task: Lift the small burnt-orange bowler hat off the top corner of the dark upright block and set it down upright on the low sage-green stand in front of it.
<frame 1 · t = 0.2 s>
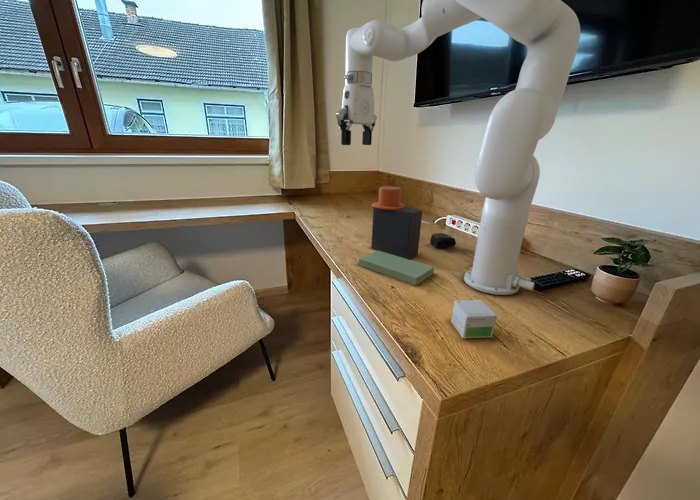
hand: (356, 144, 94), 31 cm above the worktop, tool pointing down, fingers open, 9 cm apart
small box: (470, 330, 58), on the worktop
tape measure: (442, 247, 102), on the worktop
dark upright block: (393, 251, 97), on the worktop
hat: (388, 206, 94), point 14 cm above the worktop, touching dark upright block
stand: (394, 269, 84), on the worktop
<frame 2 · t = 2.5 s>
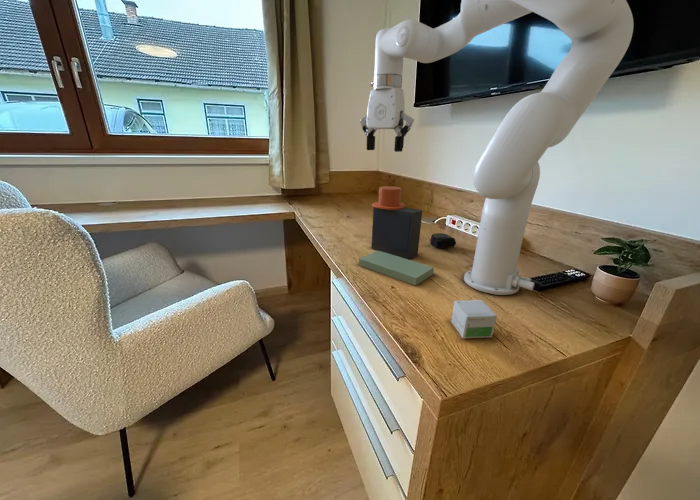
hand: (384, 150, 89), 30 cm above the worktop, tool pointing down, fingers open, 9 cm apart
nothing on the worktop moved.
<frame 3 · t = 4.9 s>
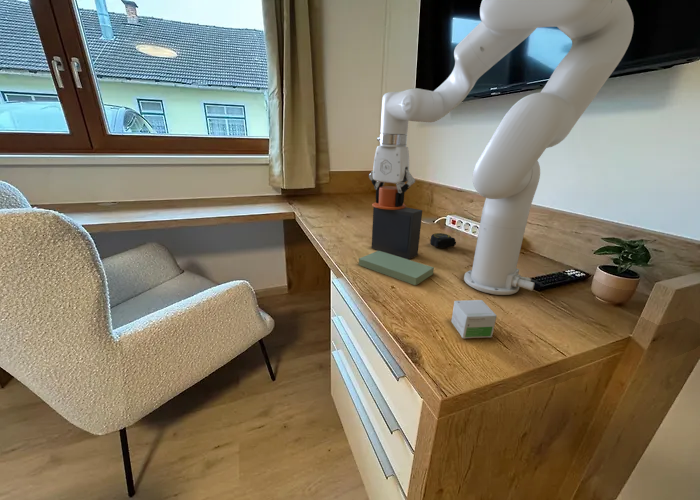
hand: (389, 203, 93), 15 cm above the worktop, tool pointing down, fingers closed on hat, 6 cm apart
hat: (388, 206, 94), point 14 cm above the worktop, touching gripper, dark upright block
everything else where it was.
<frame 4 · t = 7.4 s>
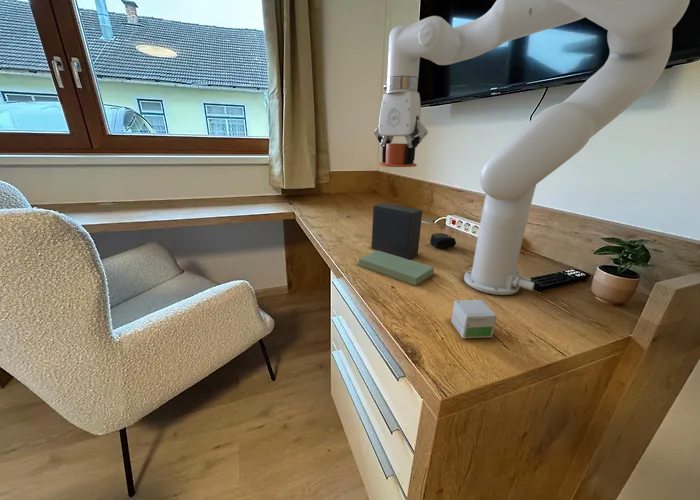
hand: (397, 162, 82), 27 cm above the worktop, tool pointing down, fingers closed on hat, 6 cm apart
hat: (397, 165, 82), point 27 cm above the worktop, touching gripper
everything else where it was.
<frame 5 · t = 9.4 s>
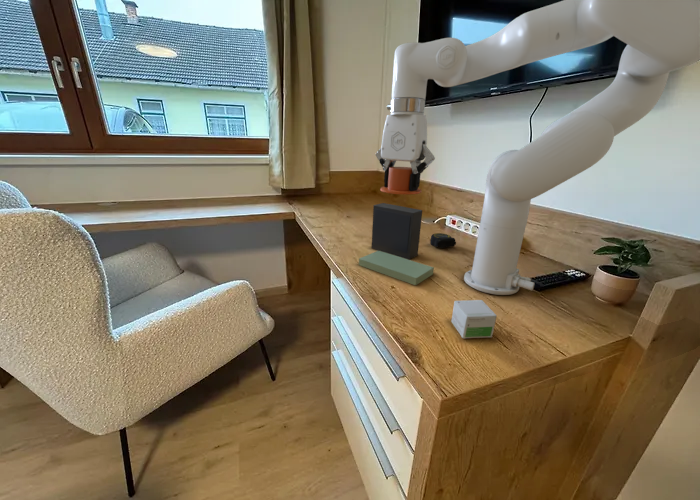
hand: (400, 187, 76), 22 cm above the worktop, tool pointing down, fingers closed on hat, 6 cm apart
hat: (400, 190, 76), point 21 cm above the worktop, touching gripper
everything else where it was.
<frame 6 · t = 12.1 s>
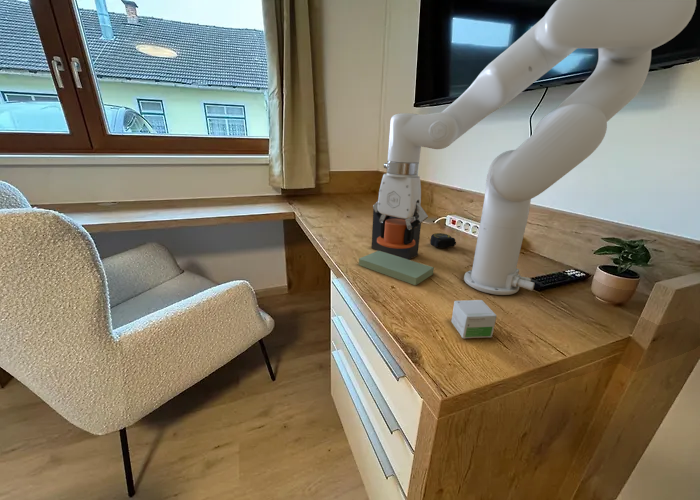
hand: (396, 239, 81), 9 cm above the worktop, tool pointing down, fingers closed on hat, 6 cm apart
hat: (395, 242, 81), point 8 cm above the worktop, touching gripper
everything else where it was.
when the fingers open (3 cm above the worktop, at t = 14.1 s): hat stays where it is, resting on stand.
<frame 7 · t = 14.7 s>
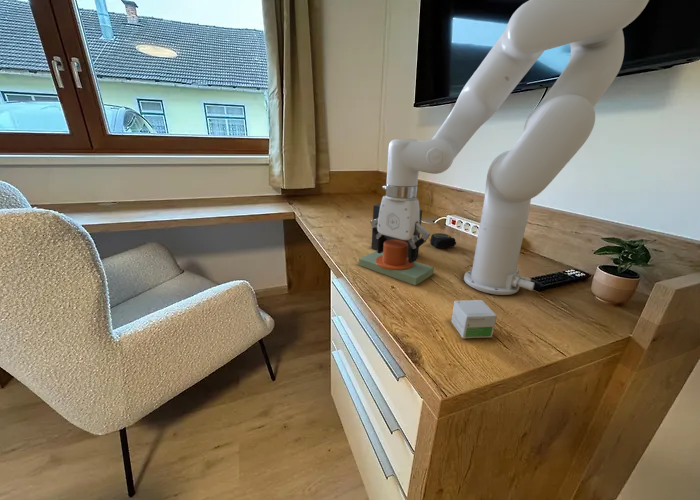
hand: (396, 256, 82), 4 cm above the worktop, tool pointing down, fingers open, 9 cm apart
hat: (394, 262, 83), point 2 cm above the worktop, touching stand
everything else where it was.
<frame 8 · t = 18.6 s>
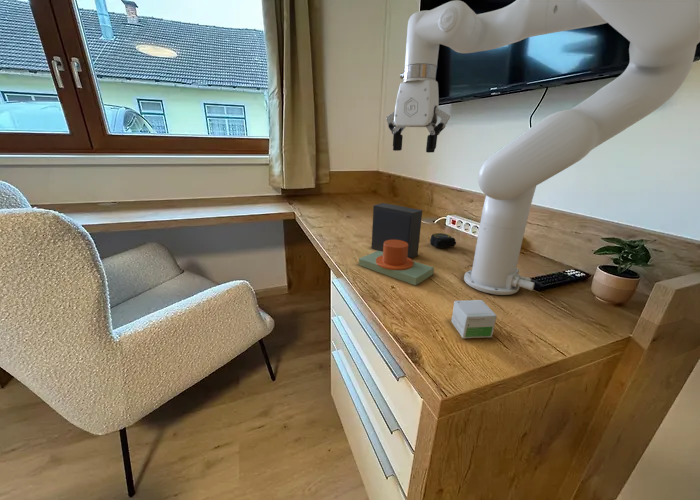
hand: (413, 151, 80), 30 cm above the worktop, tool pointing down, fingers open, 9 cm apart
nothing on the worktop moved.
at the end: hat inside the target area on the stand (0.2 cm from its centre), point 2.0 cm above the stand's base; hat tilted 0°; the gripper is holding nothing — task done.
